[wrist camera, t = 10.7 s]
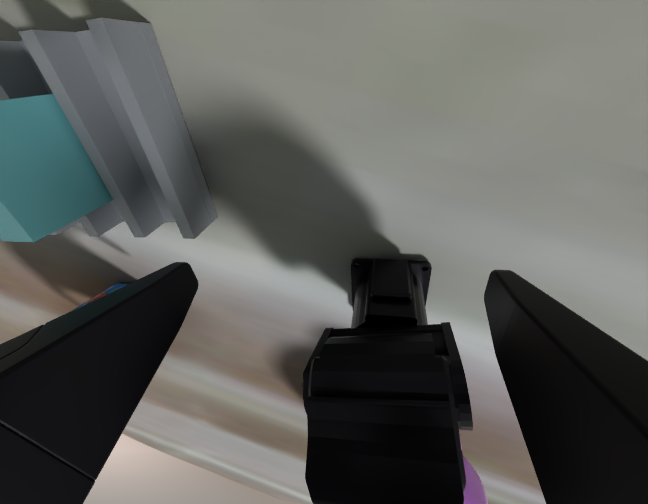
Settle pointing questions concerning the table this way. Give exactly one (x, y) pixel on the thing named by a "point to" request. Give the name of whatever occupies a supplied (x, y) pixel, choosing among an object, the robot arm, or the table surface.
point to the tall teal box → (43, 170)
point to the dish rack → (117, 121)
